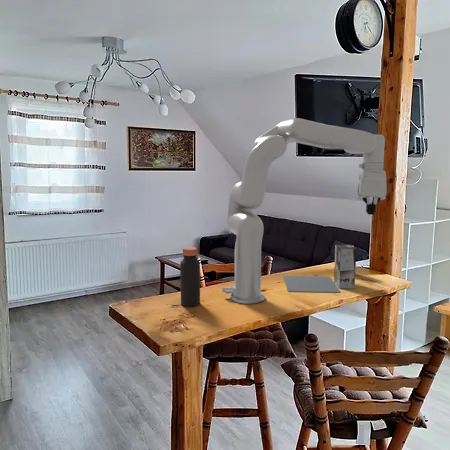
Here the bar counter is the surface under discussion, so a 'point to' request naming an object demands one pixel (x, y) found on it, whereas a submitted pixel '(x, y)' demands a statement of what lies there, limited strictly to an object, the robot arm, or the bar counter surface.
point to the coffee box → (345, 266)
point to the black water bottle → (190, 278)
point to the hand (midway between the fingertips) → (370, 214)
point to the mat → (310, 284)
